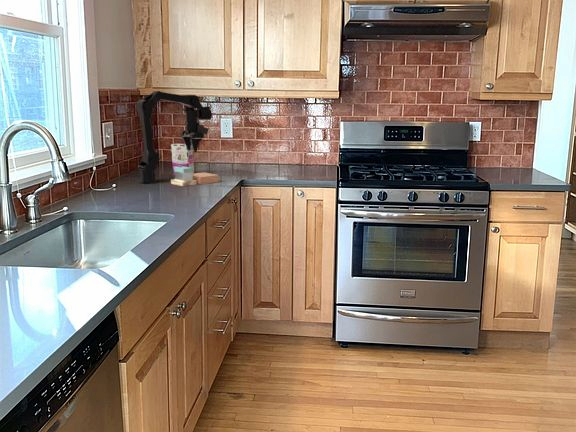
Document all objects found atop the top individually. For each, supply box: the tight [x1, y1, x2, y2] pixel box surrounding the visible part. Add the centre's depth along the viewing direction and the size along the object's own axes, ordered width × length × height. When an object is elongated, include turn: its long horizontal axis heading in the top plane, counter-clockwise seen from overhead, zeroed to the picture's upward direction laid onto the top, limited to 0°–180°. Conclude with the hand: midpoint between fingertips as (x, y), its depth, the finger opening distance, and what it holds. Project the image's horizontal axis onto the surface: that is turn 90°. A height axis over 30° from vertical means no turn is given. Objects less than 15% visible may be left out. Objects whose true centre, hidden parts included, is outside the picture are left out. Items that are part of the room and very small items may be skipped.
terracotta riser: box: [193, 171, 219, 185], centre depth 282 cm, size 11×12×4 cm
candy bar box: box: [170, 143, 195, 176], centre depth 302 cm, size 11×5×16 cm, turn 61°
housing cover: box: [174, 165, 192, 173], centre depth 274 cm, size 5×8×3 cm, turn 44°
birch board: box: [170, 178, 198, 187], centre depth 275 cm, size 8×10×2 cm
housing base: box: [174, 171, 193, 181], centre depth 274 cm, size 5×8×4 cm, turn 44°
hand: (192, 151), depth 290 cm, fingers open, 9 cm apart
